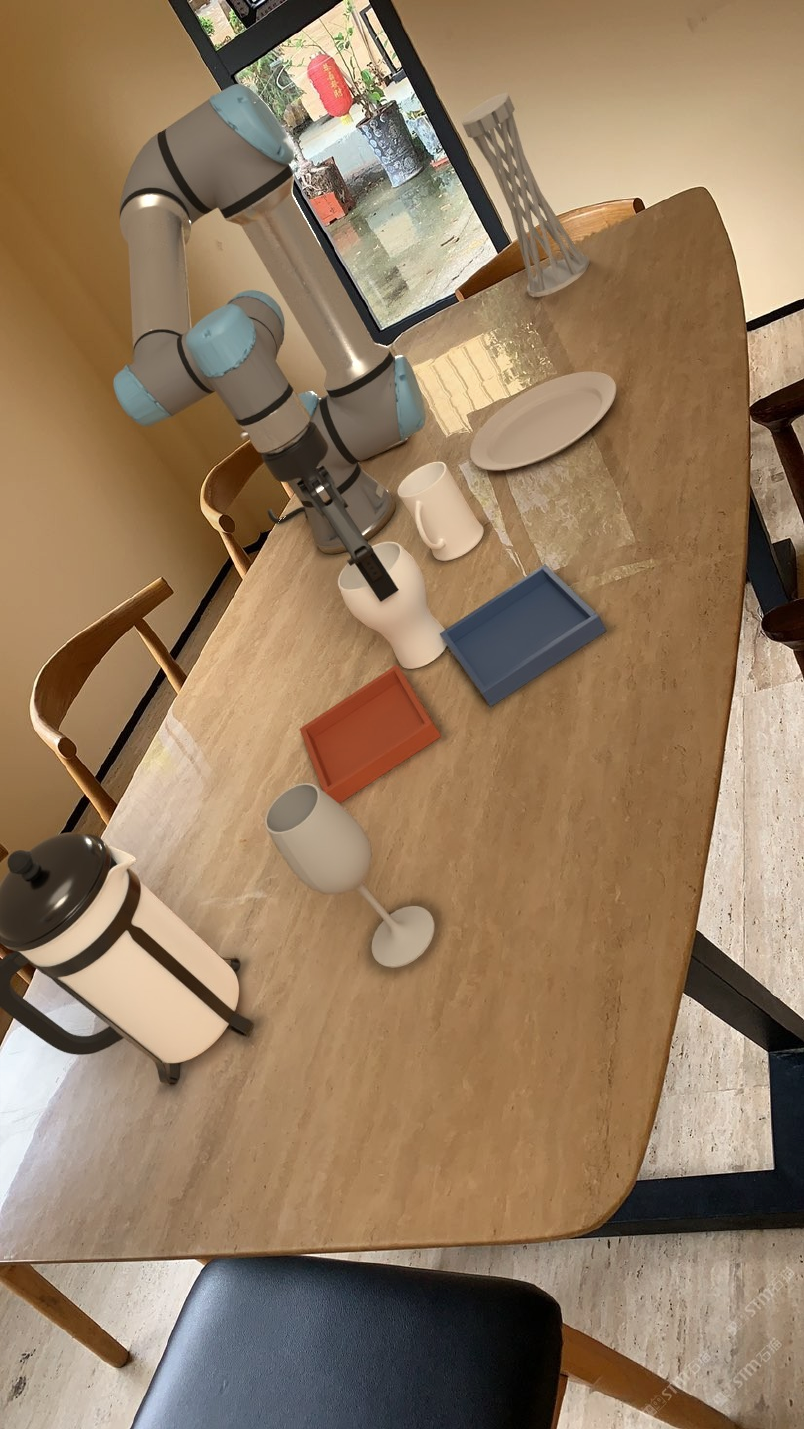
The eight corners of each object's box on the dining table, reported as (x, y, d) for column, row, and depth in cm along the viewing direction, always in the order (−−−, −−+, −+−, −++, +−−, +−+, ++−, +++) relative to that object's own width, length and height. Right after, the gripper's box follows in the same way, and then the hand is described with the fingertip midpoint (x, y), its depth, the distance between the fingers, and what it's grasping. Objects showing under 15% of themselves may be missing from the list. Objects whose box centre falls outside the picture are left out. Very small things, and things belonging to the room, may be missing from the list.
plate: (646, 409, 157) (641, 397, 156) (500, 499, 160) (495, 489, 159) (585, 366, 178) (581, 356, 177) (458, 447, 181) (452, 437, 180)
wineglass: (444, 903, 106) (338, 771, 95) (424, 969, 102) (310, 838, 90) (384, 906, 110) (275, 780, 99) (361, 969, 106) (244, 844, 94)
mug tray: (448, 646, 139) (439, 633, 138) (552, 577, 138) (544, 563, 137) (490, 707, 125) (481, 693, 124) (606, 630, 124) (599, 615, 123)
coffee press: (193, 950, 121) (16, 786, 104) (287, 974, 110) (106, 796, 94) (105, 1087, 112) (-104, 932, 95) (198, 1127, 102) (-19, 961, 85)
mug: (465, 570, 151) (427, 505, 144) (418, 579, 156) (378, 517, 149) (491, 519, 157) (455, 455, 151) (445, 529, 162) (408, 467, 156)
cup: (387, 644, 147) (332, 564, 139) (454, 611, 144) (402, 527, 136) (392, 688, 139) (334, 605, 130) (463, 653, 136) (408, 567, 128)
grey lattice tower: (517, 301, 216) (439, 136, 197) (549, 265, 222) (477, 101, 202) (568, 290, 207) (492, 114, 187) (601, 253, 212) (530, 78, 192)
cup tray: (309, 741, 140) (299, 728, 138) (406, 677, 139) (397, 663, 138) (334, 806, 127) (323, 793, 126) (441, 736, 126) (431, 722, 125)
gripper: (244, 428, 132) (330, 555, 144) (276, 487, 112) (374, 631, 123) (293, 394, 132) (375, 525, 144) (335, 448, 111) (427, 596, 123)
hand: (375, 574), depth 134 cm, fingers open, 13 cm apart
